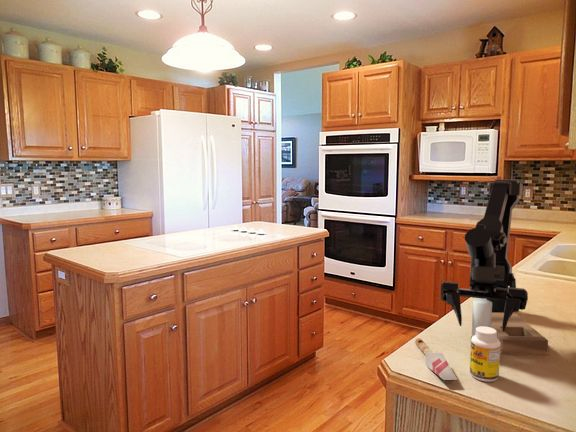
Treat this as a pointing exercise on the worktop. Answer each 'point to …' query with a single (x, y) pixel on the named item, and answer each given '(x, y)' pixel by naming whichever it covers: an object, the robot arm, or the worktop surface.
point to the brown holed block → (518, 336)
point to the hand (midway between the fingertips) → (481, 328)
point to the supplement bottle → (485, 354)
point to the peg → (481, 314)
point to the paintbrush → (436, 362)
